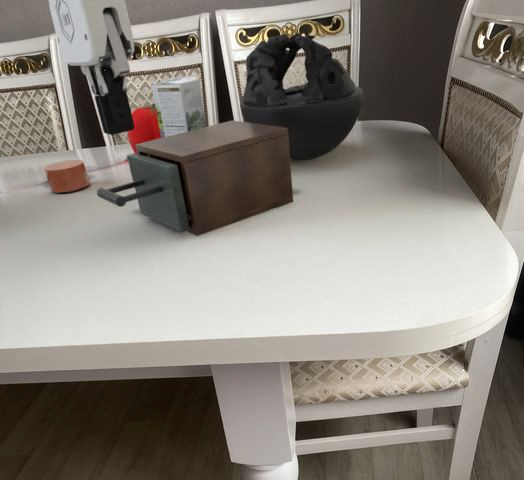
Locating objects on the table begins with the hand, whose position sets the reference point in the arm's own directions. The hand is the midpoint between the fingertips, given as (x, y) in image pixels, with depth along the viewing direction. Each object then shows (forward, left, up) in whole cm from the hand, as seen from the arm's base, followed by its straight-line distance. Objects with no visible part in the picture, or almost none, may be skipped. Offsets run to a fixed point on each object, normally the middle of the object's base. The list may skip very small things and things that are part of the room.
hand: (119, 131), depth 60 cm
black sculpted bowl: (+36, +10, -13) cm, 39 cm away
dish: (+2, +33, -13) cm, 35 cm away
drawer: (+7, 0, -12) cm, 13 cm away
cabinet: (+12, 0, -13) cm, 17 cm away
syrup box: (+20, +22, -13) cm, 33 cm away
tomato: (+21, +34, -13) cm, 42 cm away
